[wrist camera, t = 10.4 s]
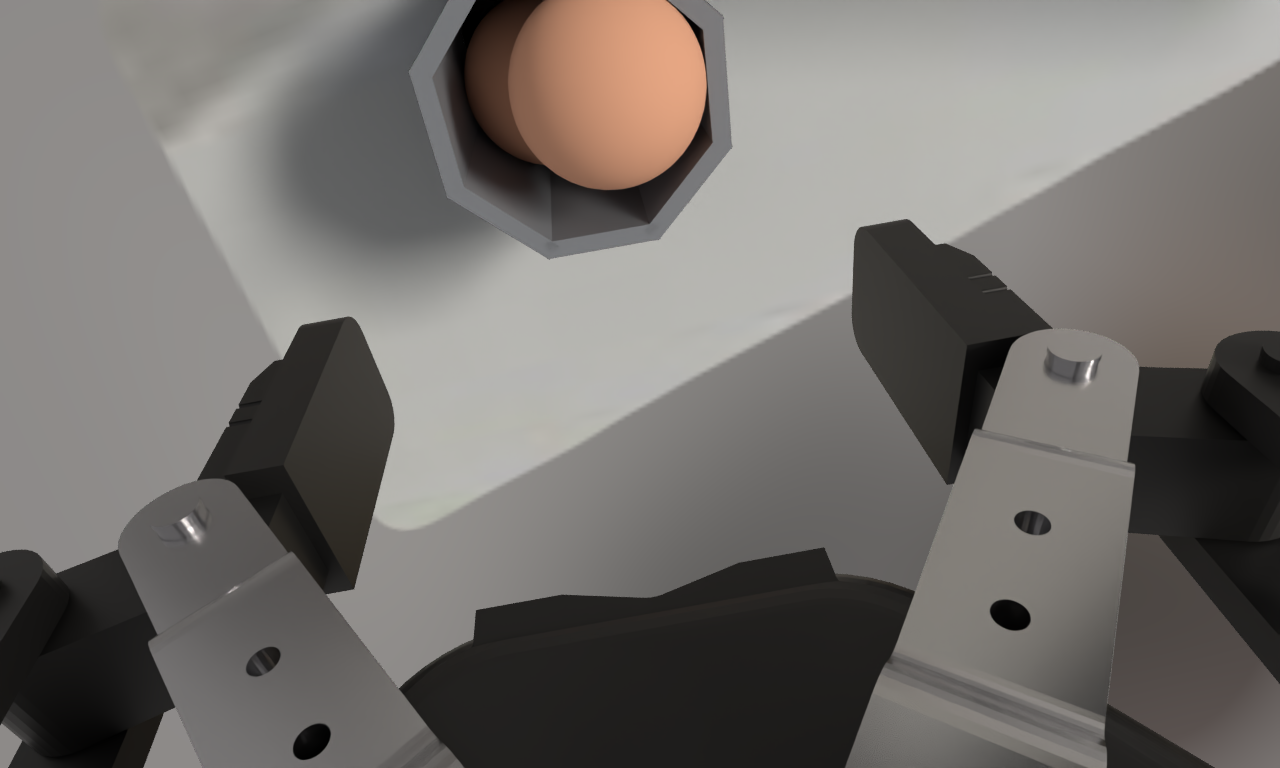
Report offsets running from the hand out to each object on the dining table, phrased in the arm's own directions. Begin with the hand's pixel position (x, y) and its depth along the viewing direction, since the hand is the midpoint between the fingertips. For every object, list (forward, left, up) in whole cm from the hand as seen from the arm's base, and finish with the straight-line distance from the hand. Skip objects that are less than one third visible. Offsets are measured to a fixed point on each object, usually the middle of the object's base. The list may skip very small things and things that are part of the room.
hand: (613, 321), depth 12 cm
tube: (0, 0, -22) cm, 22 cm away
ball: (0, +1, -13) cm, 13 cm away
